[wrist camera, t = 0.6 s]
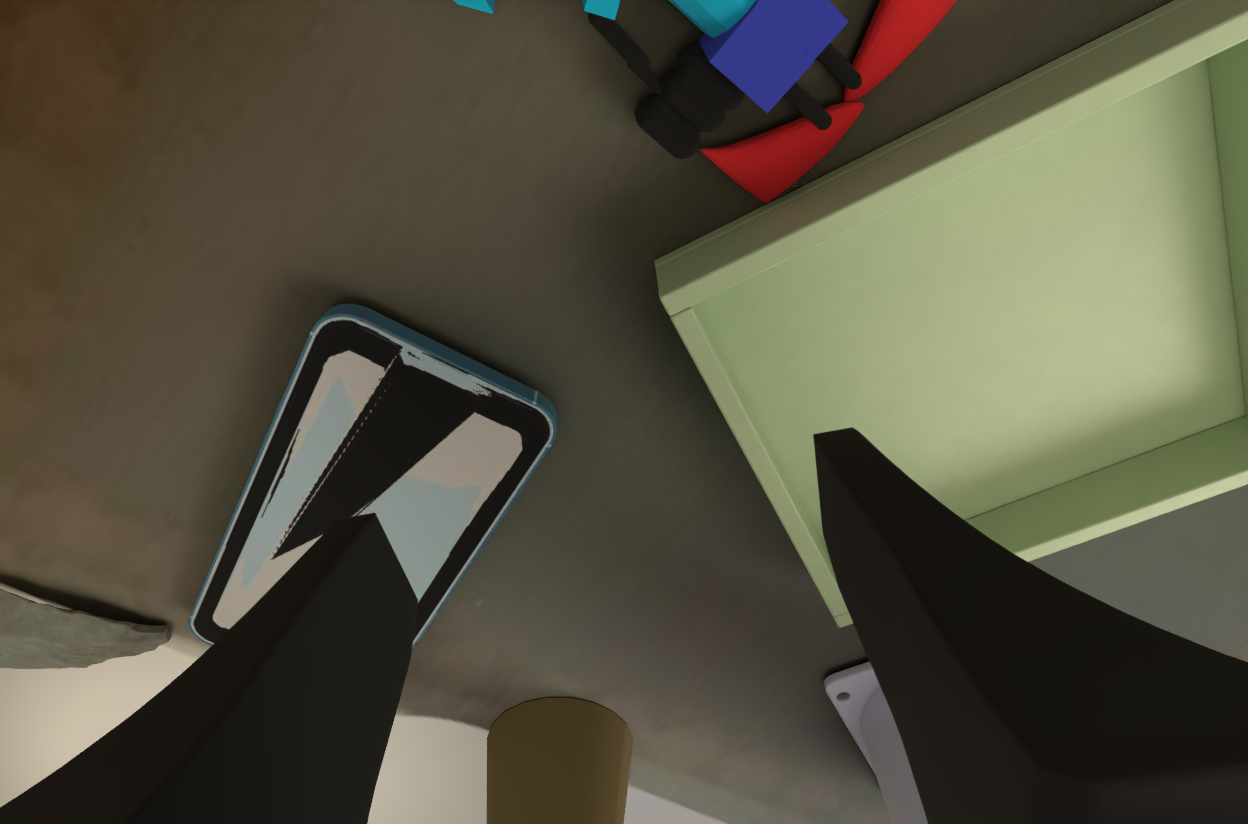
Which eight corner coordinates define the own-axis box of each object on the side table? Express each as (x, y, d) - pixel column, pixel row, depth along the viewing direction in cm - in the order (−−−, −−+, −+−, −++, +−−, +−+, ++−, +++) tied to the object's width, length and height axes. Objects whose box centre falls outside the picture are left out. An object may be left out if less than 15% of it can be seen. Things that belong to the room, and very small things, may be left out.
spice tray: (1256, 412, 24) (1319, 460, 22) (821, 574, 27) (839, 629, 25) (1213, -21, 18) (1295, -13, 15) (653, 259, 21) (658, 297, 19)
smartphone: (179, 634, 27) (321, 299, 20) (192, 613, 28) (333, 283, 21) (379, 702, 29) (571, 420, 22) (385, 681, 30) (572, 402, 23)
